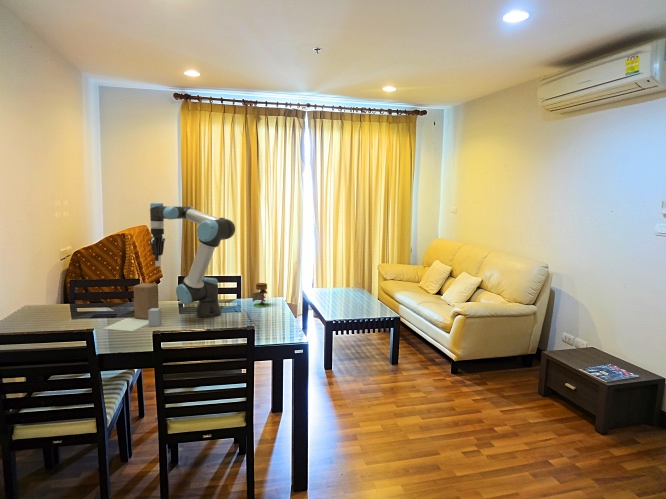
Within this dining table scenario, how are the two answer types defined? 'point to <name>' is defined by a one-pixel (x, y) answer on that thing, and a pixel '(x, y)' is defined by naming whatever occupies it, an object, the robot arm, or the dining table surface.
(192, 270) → the robot arm
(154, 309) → the light grey block
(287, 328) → the dining table surface
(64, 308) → the dining table surface
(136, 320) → the mat
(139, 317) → the wooden block
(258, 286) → the figurine on green base
